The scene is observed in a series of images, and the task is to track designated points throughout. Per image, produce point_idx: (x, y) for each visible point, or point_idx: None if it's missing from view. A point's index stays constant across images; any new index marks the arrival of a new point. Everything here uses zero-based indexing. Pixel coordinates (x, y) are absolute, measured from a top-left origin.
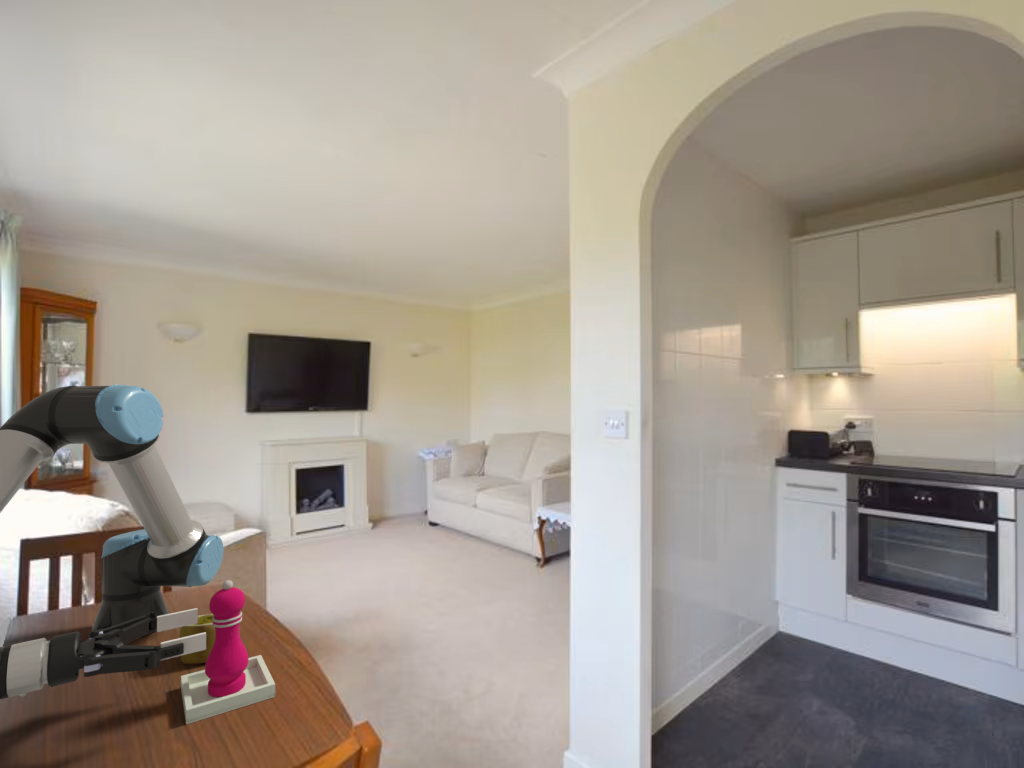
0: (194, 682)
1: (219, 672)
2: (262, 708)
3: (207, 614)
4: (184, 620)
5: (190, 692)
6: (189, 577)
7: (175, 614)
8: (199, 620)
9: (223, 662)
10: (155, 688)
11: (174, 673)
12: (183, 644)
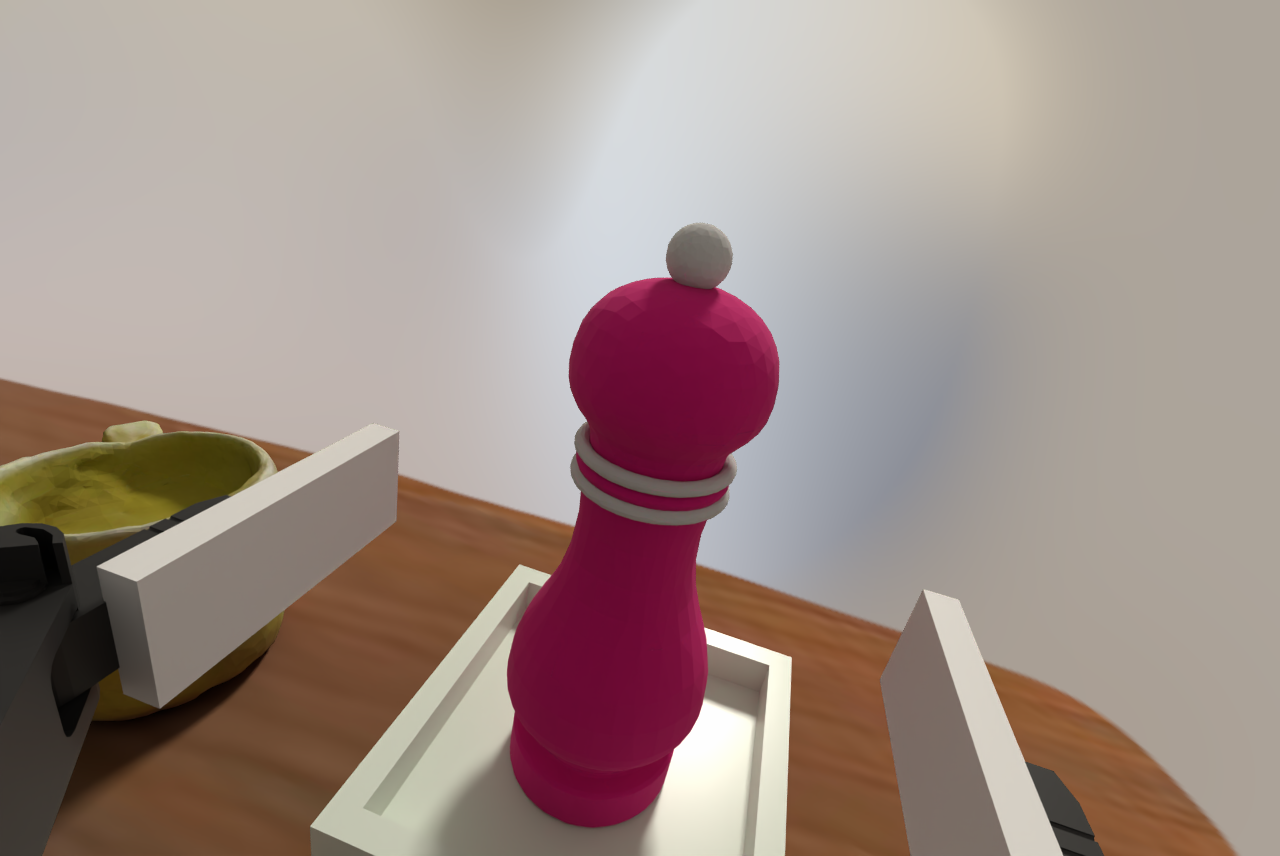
0: (384, 804)
1: (685, 727)
2: (832, 758)
3: (68, 448)
4: (339, 527)
5: None
6: None
7: (285, 501)
8: (34, 485)
9: (697, 678)
10: None
11: (98, 803)
12: (1042, 768)
